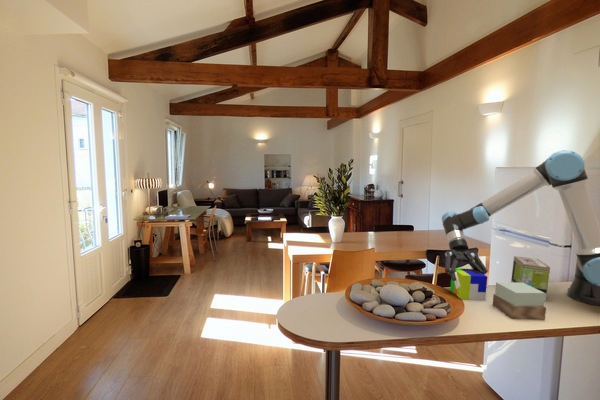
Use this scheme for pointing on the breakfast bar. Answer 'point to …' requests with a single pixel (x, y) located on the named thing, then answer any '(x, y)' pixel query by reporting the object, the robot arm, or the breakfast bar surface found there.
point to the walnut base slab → (519, 310)
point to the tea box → (531, 273)
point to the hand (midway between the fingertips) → (471, 288)
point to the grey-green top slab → (519, 294)
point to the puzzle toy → (470, 284)
